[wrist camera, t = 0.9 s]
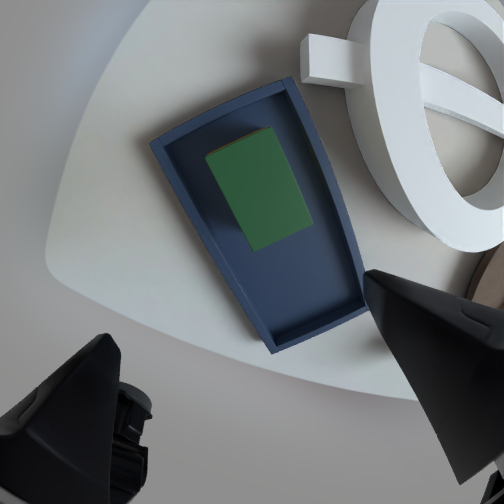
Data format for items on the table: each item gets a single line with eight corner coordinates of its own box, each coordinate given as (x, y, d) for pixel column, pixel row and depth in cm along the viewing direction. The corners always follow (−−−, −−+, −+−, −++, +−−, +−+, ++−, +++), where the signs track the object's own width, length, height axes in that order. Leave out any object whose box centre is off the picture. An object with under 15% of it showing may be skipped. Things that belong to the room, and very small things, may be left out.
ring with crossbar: (534, 146, 20) (556, 153, 16) (434, 281, 27) (458, 303, 22) (436, -33, 11) (459, -44, 7) (271, 64, 17) (283, 46, 13)
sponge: (248, 232, 22) (253, 252, 19) (208, 153, 19) (203, 157, 16) (299, 208, 22) (314, 224, 18) (263, 127, 19) (271, 125, 15)
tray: (269, 342, 28) (271, 354, 26) (155, 142, 19) (148, 143, 17) (366, 297, 27) (374, 307, 25) (285, 80, 18) (291, 75, 16)
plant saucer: (516, 197, 23) (531, 203, 21) (524, 275, 30) (534, 283, 27) (443, 284, 27) (458, 297, 24) (463, 345, 33) (473, 357, 31)
